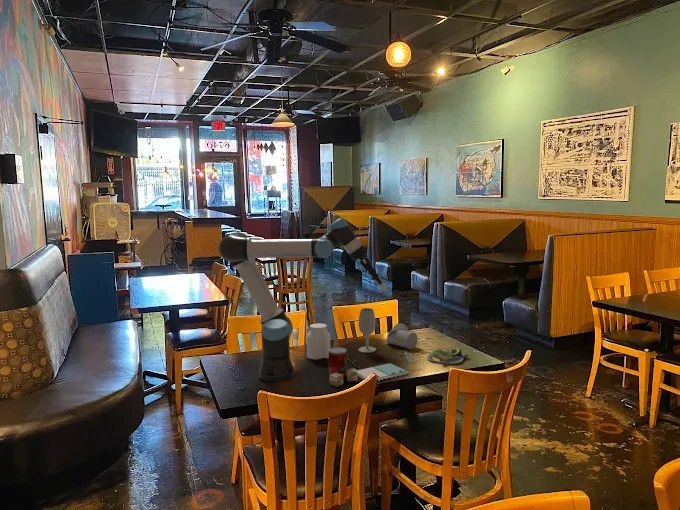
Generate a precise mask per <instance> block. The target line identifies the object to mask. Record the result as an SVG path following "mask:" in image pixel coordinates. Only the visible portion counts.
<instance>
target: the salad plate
mask: <svg viewBox="0 0 680 510" xmlns="http://www.w3.org/2000/svg"><path fill="white" fill-rule="evenodd" d="M467 357H469V354H465V353H463V352H462V349H461V348H460V347H457V346H456V347H455V346H454V347H451V348H449V349H448V350H443V349H434V350H432V351H431V352H430V353H429V354H428V355H427V356H426V358H427V360H429V361H430V362H431V363H434V364H440V365H441V364H442V365H457V364H460V363H462V362H463V360H464V359H466V358H467ZM434 358H435V359H439V360H435V359H434Z"/></svg>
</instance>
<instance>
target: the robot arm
mask: <svg viewBox="0 0 680 510" xmlns="http://www.w3.org/2000/svg"><path fill="white" fill-rule="evenodd" d="M328 229H330V230H328V231H327V232H326V233H325V234H323V235H322V236H320V237H318V238H310V239H309V238H308V239H306V238H302V239H299V238H297V239H295V238H294V239H288V238H287V239H251V237H249V236H247V235H246V234H245V233H243V232H238V231H236V232H233V233H230V234H228V235H225V236H224V237H223V238H222V239H220V242H219V244H218V253H219V254H220V256H221V257H222V258H223V260H225V261H227V262H229V264H230V265H231V268H233V269H237V272H238V274H239V275H240V278H241V279H242V282H243V284H244V285H245V287H246V290H247V291H248V293H249V296H250V297H251V299H252V301H253V303H254V305H255V307H256V309H257V311H258V313H259V315H260V319H259V323H260V325H261V329H260V330H261V331H260V333H261V350H262V351H261V353H262V358H261V359H262V360H261V363H260V366H259V369H258V378H259V379H260V380H262V381H265V382H271V383H272V382H273V383H274V382H275V383H279V382H284V381H288V380H291V379H292V378H293V377H294V376H295V368H294V365H293V363H292V360H291V355H290V353H291V352H290V350H291V348H290V346H291V345H290V339H291V336H292V334H293V322H292V321H291V318H289V317H288V316H287V315H286V313H285V311H284V309H283V308H280V307H279V306H278V304H277V302H276V301H275V298H274V297H273V293H272V292H271V290H270V288H269V286H268V284H267V282H266V281H265V279H264V277H263V275H262V272H261V270H260V269H259V267H258V264H257V263H256V259H258V258H259V259H263V258H267V259H268V258H271V259H273V258H318V259H322V258H323V259H324V258H329V257H330V256H331V255H332V254H333V252H334V249H336V248H337V247H338V246H339V245H342V247H343V249H344V250H345V251H346V253H347V254H349V256H350V258H351V259H352V261H354V262H355V261H358V260H359V263H360V265H361V266H362V267H363V268H364V269H365V270H367V272H368V274H369V275H370V276H371V280H372V281H374V282H375V283H376V285H377V286H378V287H379V288H380V290H381V292H384V291H386V290H387V289H388V286H387V285H386V284H385V282H384V281H383V279H382V278H381V277H380V276H379V274H378V273H377V270H376V268H374V267H373V266H372V263H371V262H370V260H369V258H368V257H367V256H365V255H366V254H367V252H368V250H367V249H366V247H365V246H364V245H363V244H362V241H360V240H361V238H360V237H358V236H357V235H356V233H355V232H354V231H353V229H352V227H351V226H350V224H348V222H347V220H345V219H344V218H343V217H339V218H338V219H336V220H334V221H333V222H331V224H329V226H328Z"/></svg>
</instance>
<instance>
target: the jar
mask: <svg viewBox="0 0 680 510" xmlns="http://www.w3.org/2000/svg"><path fill="white" fill-rule="evenodd" d="M305 337H306V357H307V359H310V360H321V359H322V358H326V359H329V349H331V334H330V332H329V331H328V325H327V324H325V323H312V324H310V325H309V331H308V332H307V334H306V336H305Z"/></svg>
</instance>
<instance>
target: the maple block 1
mask: <svg viewBox="0 0 680 510" xmlns="http://www.w3.org/2000/svg"><path fill="white" fill-rule="evenodd" d="M328 378H329V379H328V380H329V381H328V382H329V385H331V386H333V387H336V388H337V387H340V386H342V385H344V377H343V375H342V374H339V373H333V374H331V375H330V374H329V377H328Z"/></svg>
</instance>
